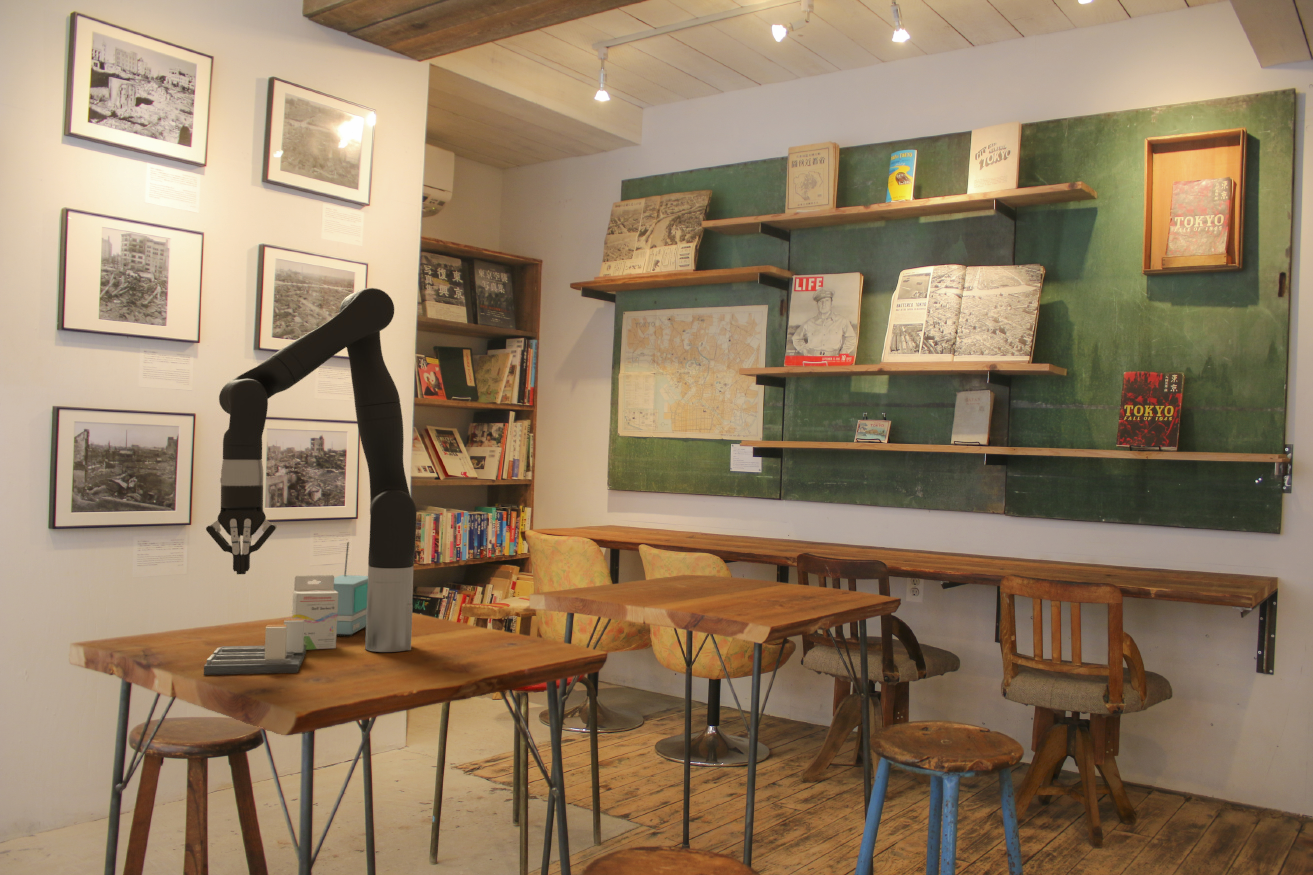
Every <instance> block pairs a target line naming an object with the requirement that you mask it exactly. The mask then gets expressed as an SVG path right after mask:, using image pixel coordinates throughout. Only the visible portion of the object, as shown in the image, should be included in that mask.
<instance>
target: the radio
mask: <svg viewBox="0 0 1313 875" xmlns="http://www.w3.org/2000/svg"><path fill="white" fill-rule="evenodd" d="M349 545H350V541H347V542H346V551H345V563H344V574H341V575H338V576H334V588H333V589H334V590H335V591H337V592H338V615H337V633H336V637H346V638H347V637H352V636H353V634H355V633H356V632H358V631H360V630H362V629H366V612H367V587H368V575H352V574H350V575H349V574H347V569H348V556H349ZM318 584H321V581H319V583H318Z"/></svg>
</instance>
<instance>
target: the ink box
mask: <svg viewBox="0 0 1313 875" xmlns="http://www.w3.org/2000/svg"><path fill="white" fill-rule="evenodd" d="M334 578H335V576H334V575H333V574H332V575H330V574H329V575H327V574H326V575H319V574H317V575H295V577H294V588H293V589H294V590H293V592H292V606H291V608H292V610H291V619H305V620H304V645H306V651H307V650H324V649H325V650H327V649H336V648H337V636H336V633H337V615H338V592H337V591H335V590H334V589H333V588H334ZM314 580H316V582H321V584H319V583H308V582H312V581H314Z"/></svg>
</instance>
